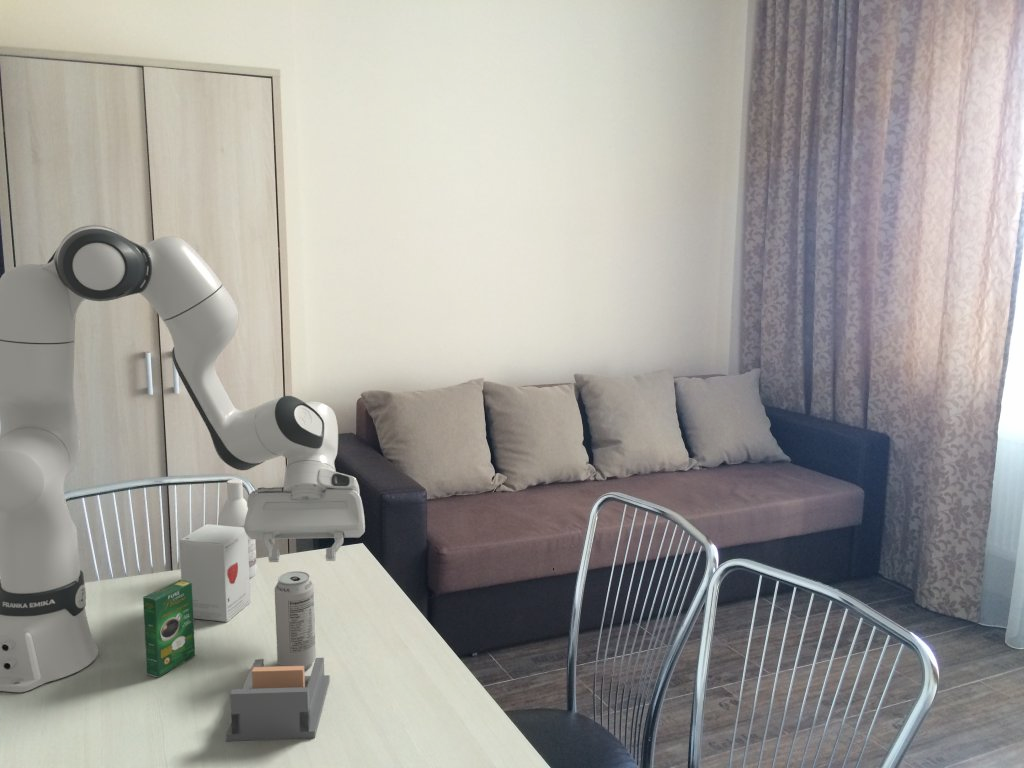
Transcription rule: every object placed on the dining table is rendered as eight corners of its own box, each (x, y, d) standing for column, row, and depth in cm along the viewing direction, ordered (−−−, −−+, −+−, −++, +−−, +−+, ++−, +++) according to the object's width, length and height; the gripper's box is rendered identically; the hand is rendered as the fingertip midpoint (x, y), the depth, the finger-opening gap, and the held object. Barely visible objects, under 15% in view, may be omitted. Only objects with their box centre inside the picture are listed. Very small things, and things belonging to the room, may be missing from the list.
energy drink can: (304, 651, 140) (301, 566, 138) (322, 665, 136) (320, 577, 133) (270, 663, 136) (267, 576, 133) (289, 678, 132) (285, 588, 129)
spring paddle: (253, 707, 121) (251, 671, 120) (255, 703, 122) (253, 667, 121) (304, 706, 122) (302, 670, 121) (305, 701, 123) (304, 665, 122)
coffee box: (184, 651, 140) (179, 577, 137) (197, 655, 139) (193, 580, 136) (145, 674, 132) (140, 596, 130) (159, 678, 131) (154, 600, 129)
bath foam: (215, 574, 171) (210, 480, 168) (247, 565, 176) (243, 473, 172) (230, 585, 166) (225, 488, 163) (262, 575, 171) (258, 481, 167)
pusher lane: (226, 740, 115) (223, 694, 114) (251, 683, 130) (249, 641, 129) (314, 737, 116) (313, 691, 115) (329, 681, 131) (328, 639, 130)
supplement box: (227, 623, 150) (223, 544, 147) (182, 618, 152) (177, 539, 149) (252, 602, 159) (249, 526, 156) (209, 597, 160) (205, 522, 158)
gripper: (245, 479, 145) (234, 554, 137) (365, 477, 147) (360, 551, 139) (252, 496, 150) (242, 569, 143) (367, 494, 152) (364, 566, 144)
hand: (302, 560), depth 141 cm, fingers open, 8 cm apart
